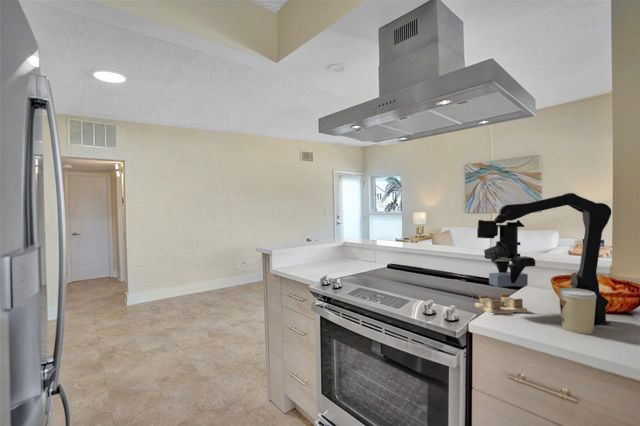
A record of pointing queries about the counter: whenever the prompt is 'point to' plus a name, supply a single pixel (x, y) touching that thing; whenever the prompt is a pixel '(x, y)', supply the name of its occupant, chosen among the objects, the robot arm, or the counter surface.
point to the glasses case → (507, 279)
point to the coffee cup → (577, 309)
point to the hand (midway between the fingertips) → (508, 281)
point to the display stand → (500, 304)
